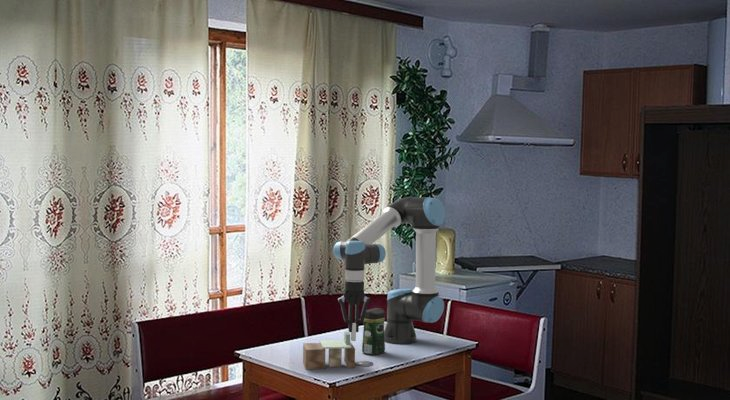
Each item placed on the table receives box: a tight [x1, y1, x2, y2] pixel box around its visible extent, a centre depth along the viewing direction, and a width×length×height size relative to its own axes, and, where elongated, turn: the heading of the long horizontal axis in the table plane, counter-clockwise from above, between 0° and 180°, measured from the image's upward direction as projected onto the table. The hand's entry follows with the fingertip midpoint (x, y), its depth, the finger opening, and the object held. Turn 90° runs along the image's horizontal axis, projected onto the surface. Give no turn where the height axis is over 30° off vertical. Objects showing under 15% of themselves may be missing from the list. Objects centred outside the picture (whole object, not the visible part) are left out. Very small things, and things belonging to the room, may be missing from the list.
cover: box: [319, 331, 351, 350], centre depth 308 cm, size 11×12×5 cm
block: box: [327, 348, 343, 368], centre depth 308 cm, size 4×4×7 cm
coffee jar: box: [361, 307, 386, 356], centre depth 329 cm, size 10×8×19 cm
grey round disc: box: [355, 360, 373, 367], centre depth 310 cm, size 7×7×1 cm
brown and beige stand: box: [302, 341, 356, 370], centre depth 308 cm, size 19×11×8 cm, turn 100°
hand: (353, 340), depth 309 cm, fingers closed
